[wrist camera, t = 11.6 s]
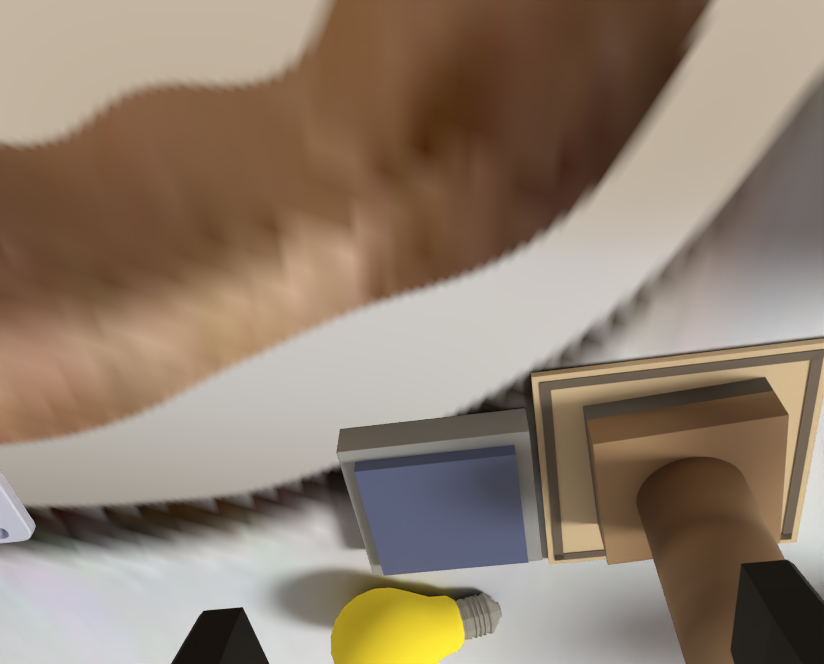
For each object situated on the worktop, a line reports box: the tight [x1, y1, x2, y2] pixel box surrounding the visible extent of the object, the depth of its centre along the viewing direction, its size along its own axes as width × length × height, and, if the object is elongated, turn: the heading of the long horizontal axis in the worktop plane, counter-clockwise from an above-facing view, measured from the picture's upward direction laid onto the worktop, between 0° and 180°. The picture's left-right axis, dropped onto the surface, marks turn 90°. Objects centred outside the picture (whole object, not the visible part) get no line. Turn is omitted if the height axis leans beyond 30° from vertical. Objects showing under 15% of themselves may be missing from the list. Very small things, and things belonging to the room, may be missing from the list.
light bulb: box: [331, 587, 502, 664], centre depth 25 cm, size 3×6×4 cm, turn 92°
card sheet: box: [531, 338, 824, 564], centre depth 22 cm, size 8×8×1 cm
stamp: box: [583, 377, 789, 664], centre depth 19 cm, size 5×5×6 cm
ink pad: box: [337, 408, 542, 575], centre depth 22 cm, size 6×6×1 cm
